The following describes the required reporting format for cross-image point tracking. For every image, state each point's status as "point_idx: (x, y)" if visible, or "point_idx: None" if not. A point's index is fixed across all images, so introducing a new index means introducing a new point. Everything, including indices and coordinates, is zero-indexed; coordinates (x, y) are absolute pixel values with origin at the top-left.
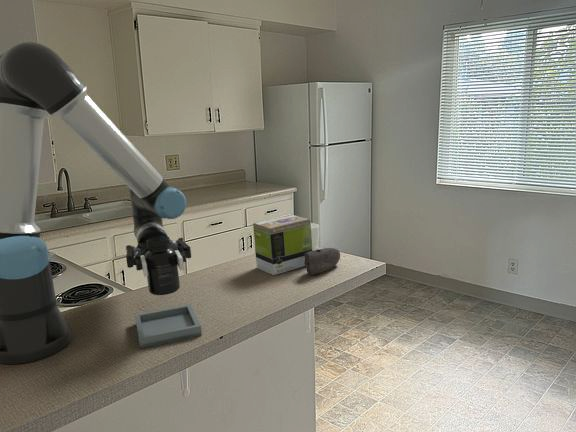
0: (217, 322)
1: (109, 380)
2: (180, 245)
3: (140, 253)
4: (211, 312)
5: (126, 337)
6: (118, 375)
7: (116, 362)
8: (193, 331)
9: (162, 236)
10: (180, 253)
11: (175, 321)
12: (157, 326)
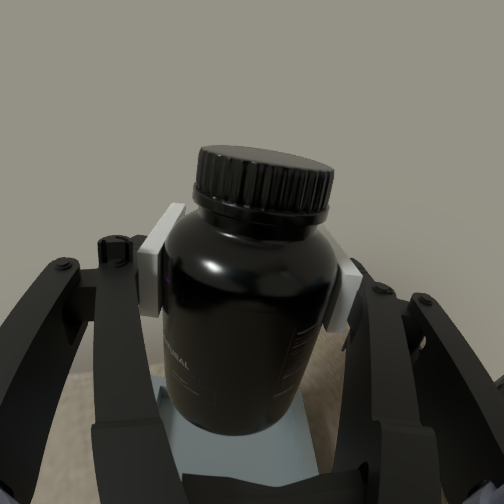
0: (91, 424)
1: (330, 337)
2: (28, 372)
3: (381, 314)
4: (73, 483)
5: (333, 459)
6: (320, 342)
7: (332, 374)
8: None
9: (237, 155)
10: (134, 259)
11: (195, 472)
12: (252, 467)
